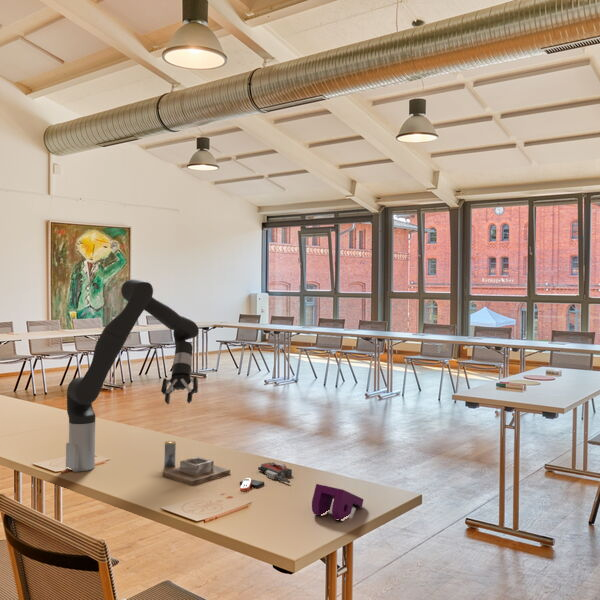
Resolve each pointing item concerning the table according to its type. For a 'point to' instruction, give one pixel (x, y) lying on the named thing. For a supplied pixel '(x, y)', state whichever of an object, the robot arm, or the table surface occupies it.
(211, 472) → the dock board
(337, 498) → the mounting bracket
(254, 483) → the multimeter
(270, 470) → the walkie-talkie
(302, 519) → the table surface
